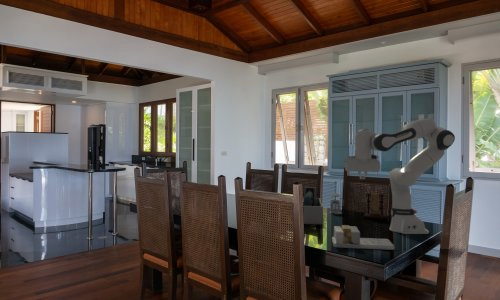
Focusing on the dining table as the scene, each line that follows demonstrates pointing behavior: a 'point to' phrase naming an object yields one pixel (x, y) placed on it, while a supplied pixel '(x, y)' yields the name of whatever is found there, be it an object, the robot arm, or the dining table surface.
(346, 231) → the maple block
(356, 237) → the block
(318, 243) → the dining table surface
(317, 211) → the tool tote
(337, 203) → the french press
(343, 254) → the dining table surface
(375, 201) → the scroll
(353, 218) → the dining table surface
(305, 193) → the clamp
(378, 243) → the vise base
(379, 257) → the dining table surface
